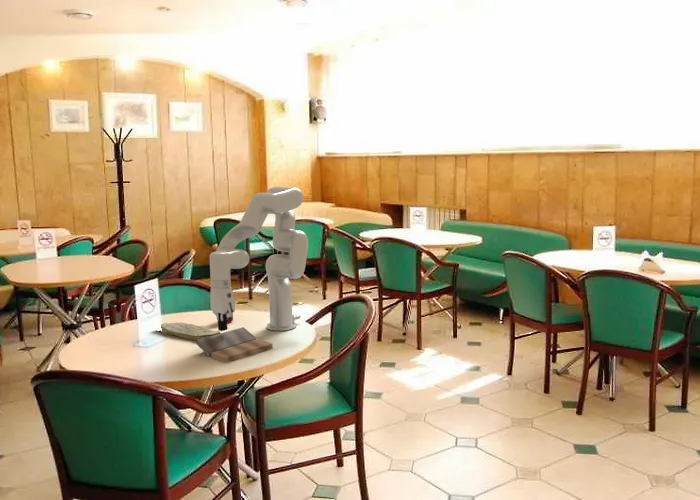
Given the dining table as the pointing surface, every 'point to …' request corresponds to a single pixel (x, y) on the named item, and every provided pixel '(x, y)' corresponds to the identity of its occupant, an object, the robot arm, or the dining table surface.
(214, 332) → the stone slab
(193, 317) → the dining table surface
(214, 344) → the smoked oak plank
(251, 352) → the walnut board
